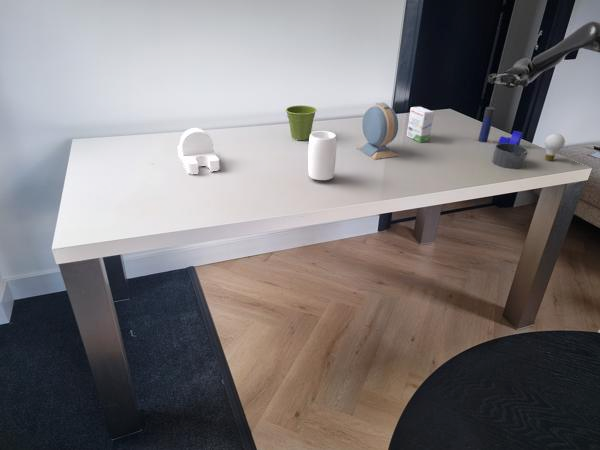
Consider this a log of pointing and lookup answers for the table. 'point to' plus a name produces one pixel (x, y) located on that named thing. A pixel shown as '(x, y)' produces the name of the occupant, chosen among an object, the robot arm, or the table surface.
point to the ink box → (420, 124)
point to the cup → (322, 155)
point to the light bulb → (553, 145)
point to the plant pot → (301, 121)
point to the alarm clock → (379, 131)
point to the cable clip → (512, 138)
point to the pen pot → (509, 155)
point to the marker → (486, 124)
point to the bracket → (197, 150)
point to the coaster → (487, 140)
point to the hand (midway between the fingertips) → (503, 82)
